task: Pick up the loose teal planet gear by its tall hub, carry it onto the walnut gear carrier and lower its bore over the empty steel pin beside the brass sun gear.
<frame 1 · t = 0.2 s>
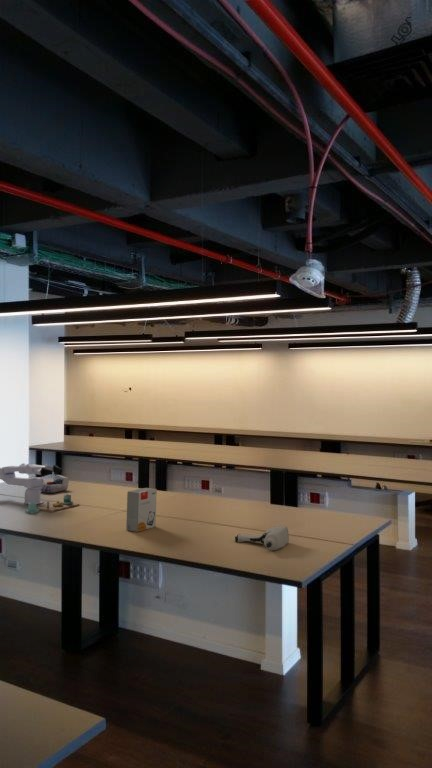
hand: (56, 471, 347), 21 cm above the table, fingers open, 7 cm apart
planet gear: (32, 512, 332), on the table
hard drive box: (141, 528, 297), on the table
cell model: (53, 491, 397), on the table
gear carrier: (57, 507, 345), on the table
impact wrench: (257, 546, 268), on the table
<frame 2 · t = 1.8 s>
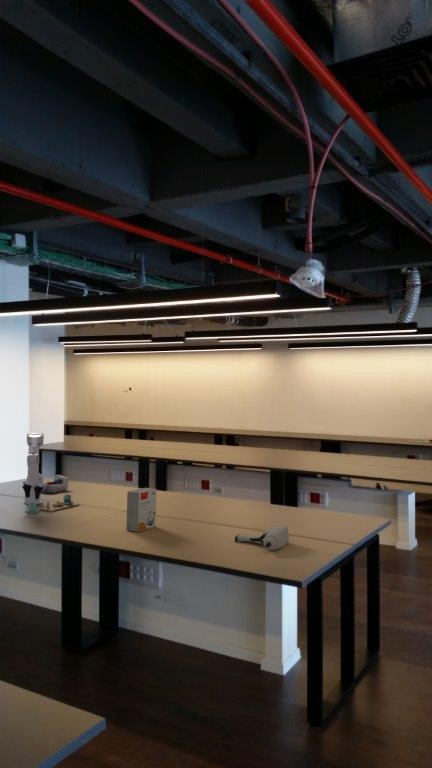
hand: (32, 498, 332), 8 cm above the table, fingers open, 7 cm apart
nothing on the table moved.
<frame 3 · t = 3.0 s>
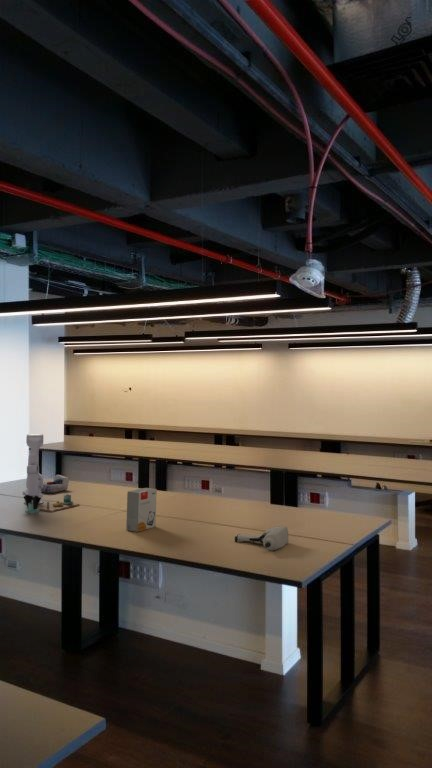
hand: (32, 508, 332), 2 cm above the table, fingers closed on planet gear, 4 cm apart
planet gear: (32, 512, 332), on the table, touching gripper
everything else where it was.
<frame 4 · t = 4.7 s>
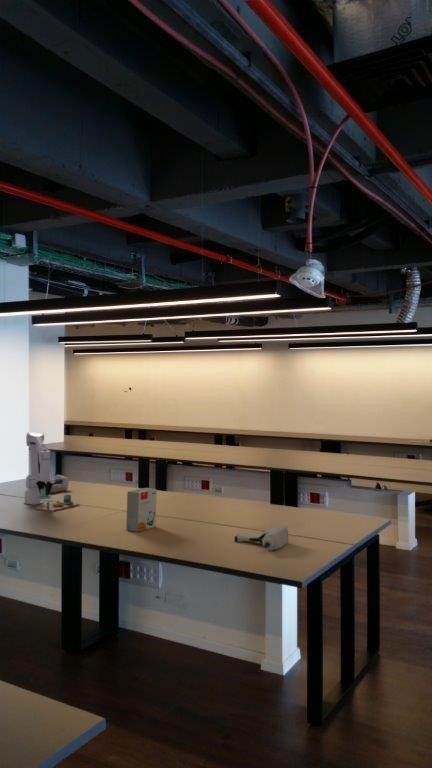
hand: (44, 494, 337), 9 cm above the table, fingers closed on planet gear, 4 cm apart
planet gear: (44, 497, 337), point 7 cm above the table, touching gripper
everything else where it was.
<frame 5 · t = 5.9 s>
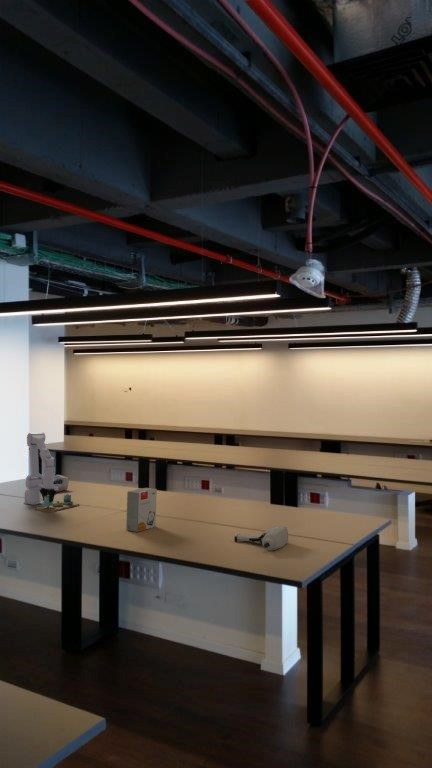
hand: (48, 501, 339), 5 cm above the table, fingers closed on planet gear, 4 cm apart
planet gear: (48, 504, 339), point 3 cm above the table, touching gripper
everything else where it was.
when the fingers open (4 cm above the table, at t = 6.6 s): planet gear stays where it is, resting on gear carrier.
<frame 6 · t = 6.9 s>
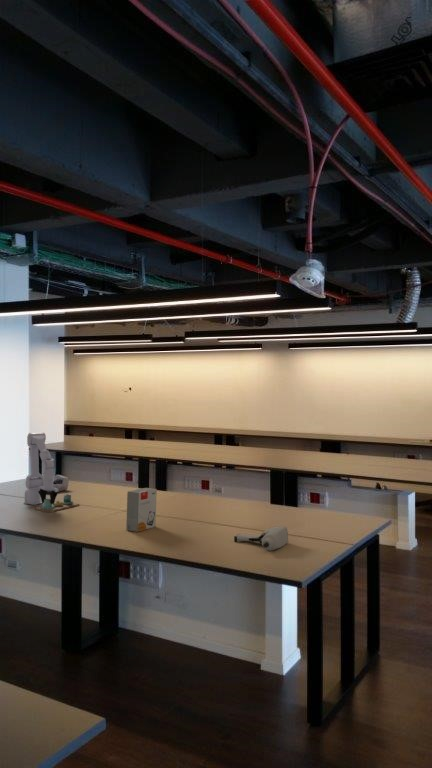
hand: (48, 503, 339), 4 cm above the table, fingers open, 7 cm apart
planet gear: (47, 508, 339), point 1 cm above the table, touching gear carrier
everything else where it was.
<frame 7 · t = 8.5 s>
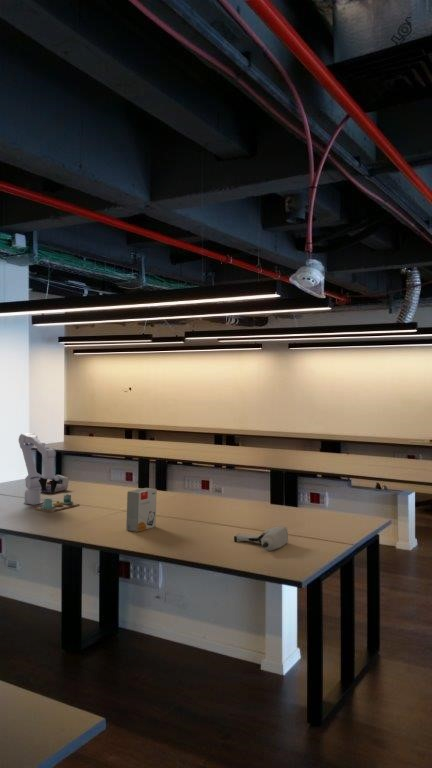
hand: (48, 491, 347), 9 cm above the table, fingers open, 7 cm apart
nothing on the table moved.
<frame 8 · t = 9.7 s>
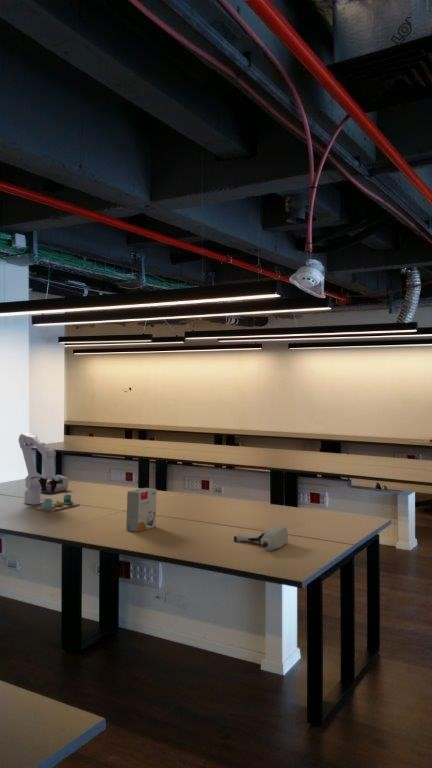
hand: (48, 491, 347), 9 cm above the table, fingers open, 7 cm apart
nothing on the table moved.
at the end: planet gear 0.1 cm from the target spot on the gear carrier, point 1.0 cm above the gear carrier's base; planet gear tilted 0°; the gripper is holding nothing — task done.
